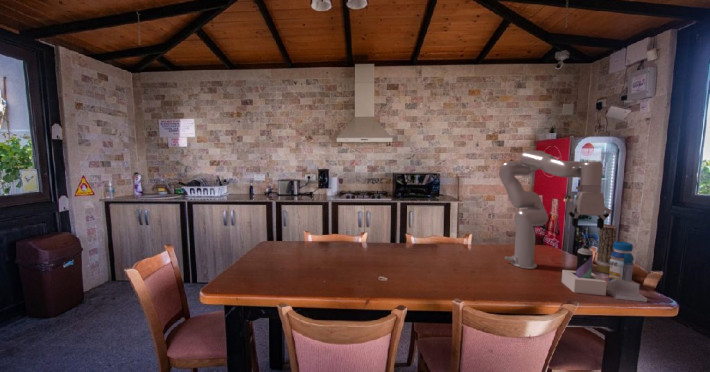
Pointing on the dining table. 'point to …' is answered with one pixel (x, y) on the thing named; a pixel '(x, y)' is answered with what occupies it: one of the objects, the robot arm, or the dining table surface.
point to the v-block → (625, 290)
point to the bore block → (584, 283)
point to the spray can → (584, 262)
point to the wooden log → (605, 247)
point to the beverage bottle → (621, 261)
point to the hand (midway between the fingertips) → (587, 227)
